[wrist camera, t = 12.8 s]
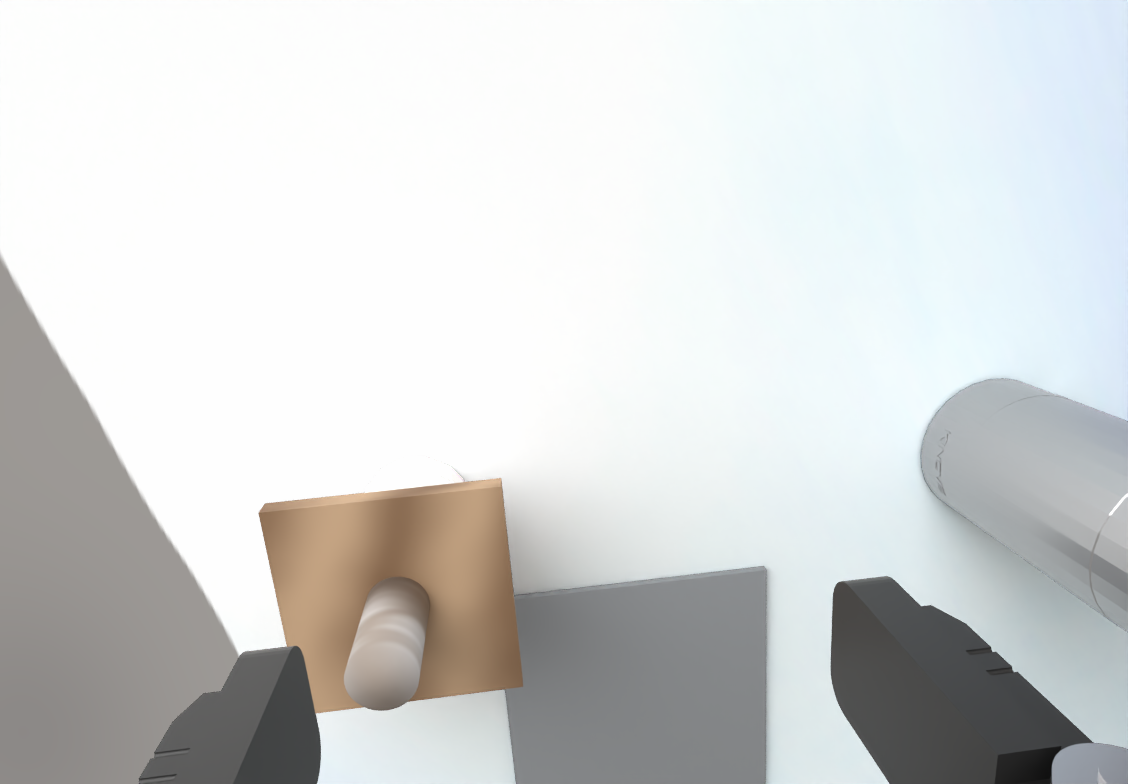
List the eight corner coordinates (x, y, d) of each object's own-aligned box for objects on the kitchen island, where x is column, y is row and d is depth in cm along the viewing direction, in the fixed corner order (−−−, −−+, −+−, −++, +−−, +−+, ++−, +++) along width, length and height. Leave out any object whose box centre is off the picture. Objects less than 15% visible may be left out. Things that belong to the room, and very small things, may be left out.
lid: (501, 478, 35) (503, 542, 29) (522, 674, 38) (528, 770, 32) (264, 503, 34) (214, 575, 28) (306, 701, 37) (269, 805, 31)
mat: (763, 566, 49) (766, 570, 49) (763, 782, 54) (765, 788, 54) (495, 597, 48) (495, 602, 47) (520, 816, 53) (520, 822, 52)
